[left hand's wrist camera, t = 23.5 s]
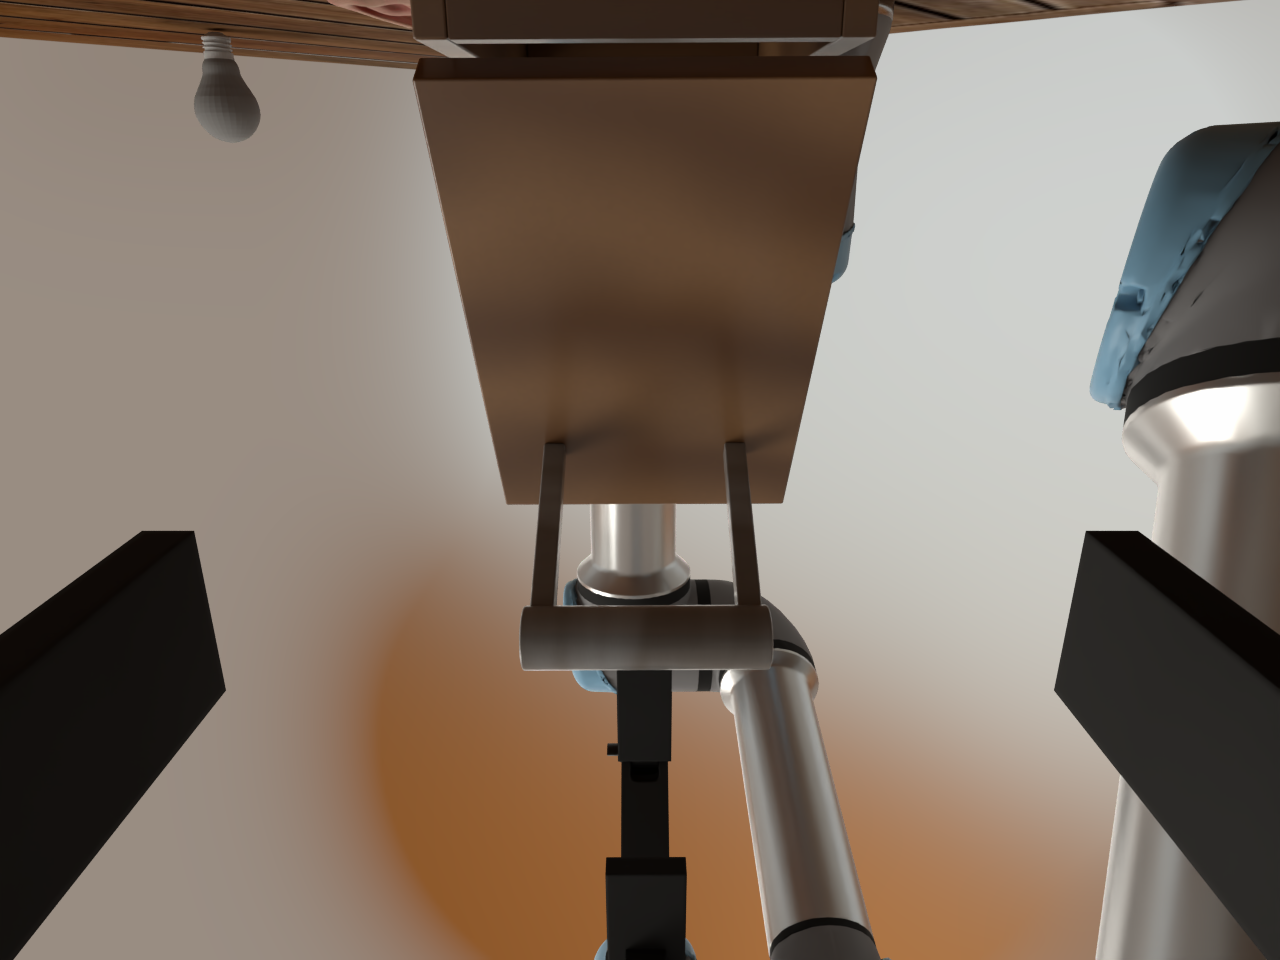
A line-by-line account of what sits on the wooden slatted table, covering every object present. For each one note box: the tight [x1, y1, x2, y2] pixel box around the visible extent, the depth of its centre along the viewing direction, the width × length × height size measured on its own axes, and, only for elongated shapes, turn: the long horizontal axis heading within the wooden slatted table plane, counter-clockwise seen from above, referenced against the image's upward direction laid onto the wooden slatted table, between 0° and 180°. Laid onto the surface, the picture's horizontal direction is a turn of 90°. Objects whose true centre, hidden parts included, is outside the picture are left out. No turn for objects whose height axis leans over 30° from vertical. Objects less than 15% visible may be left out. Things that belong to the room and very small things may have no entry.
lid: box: [413, 56, 877, 671], centre depth 23 cm, size 16×10×9 cm
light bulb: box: [194, 32, 260, 142], centre depth 85 cm, size 6×6×10 cm
